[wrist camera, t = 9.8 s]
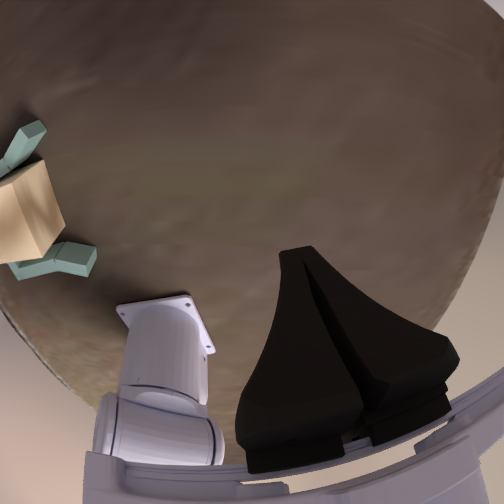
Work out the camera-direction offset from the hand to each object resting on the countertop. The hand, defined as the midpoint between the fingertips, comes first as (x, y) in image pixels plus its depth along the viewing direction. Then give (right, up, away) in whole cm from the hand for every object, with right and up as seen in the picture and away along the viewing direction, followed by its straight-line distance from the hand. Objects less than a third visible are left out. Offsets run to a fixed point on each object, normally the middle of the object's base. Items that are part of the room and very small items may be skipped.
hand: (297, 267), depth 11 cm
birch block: (-20, +5, +6) cm, 22 cm away
